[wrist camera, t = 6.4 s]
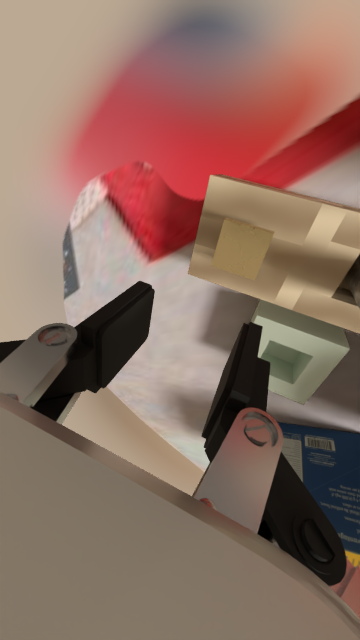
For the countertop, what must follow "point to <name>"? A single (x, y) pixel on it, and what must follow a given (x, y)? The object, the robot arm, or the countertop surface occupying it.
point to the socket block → (285, 248)
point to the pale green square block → (297, 350)
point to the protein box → (329, 476)
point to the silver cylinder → (354, 280)
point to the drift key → (241, 248)
